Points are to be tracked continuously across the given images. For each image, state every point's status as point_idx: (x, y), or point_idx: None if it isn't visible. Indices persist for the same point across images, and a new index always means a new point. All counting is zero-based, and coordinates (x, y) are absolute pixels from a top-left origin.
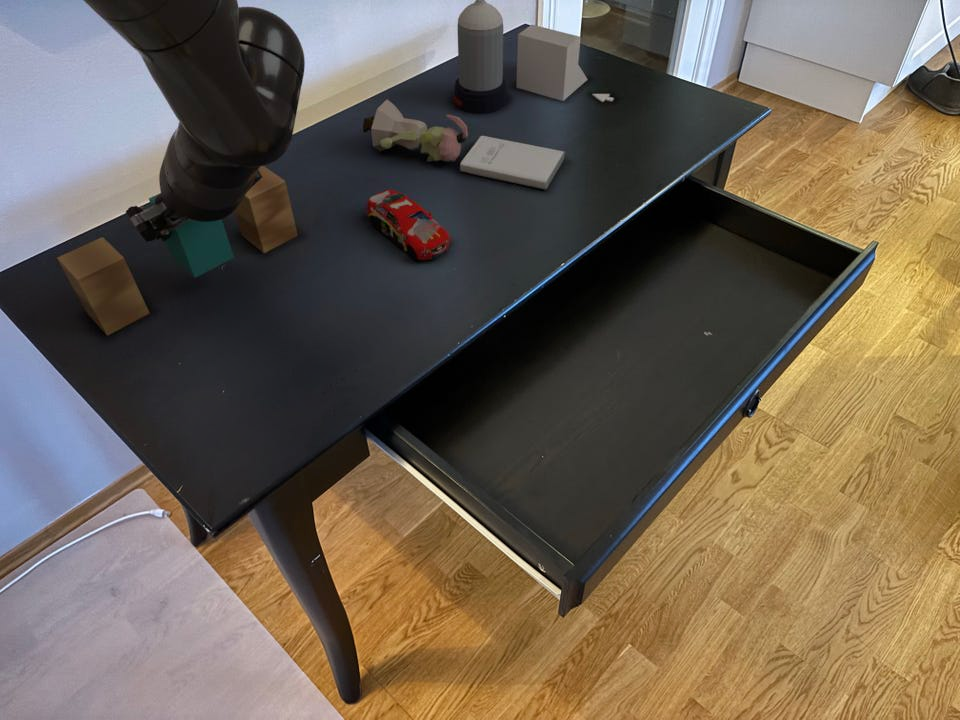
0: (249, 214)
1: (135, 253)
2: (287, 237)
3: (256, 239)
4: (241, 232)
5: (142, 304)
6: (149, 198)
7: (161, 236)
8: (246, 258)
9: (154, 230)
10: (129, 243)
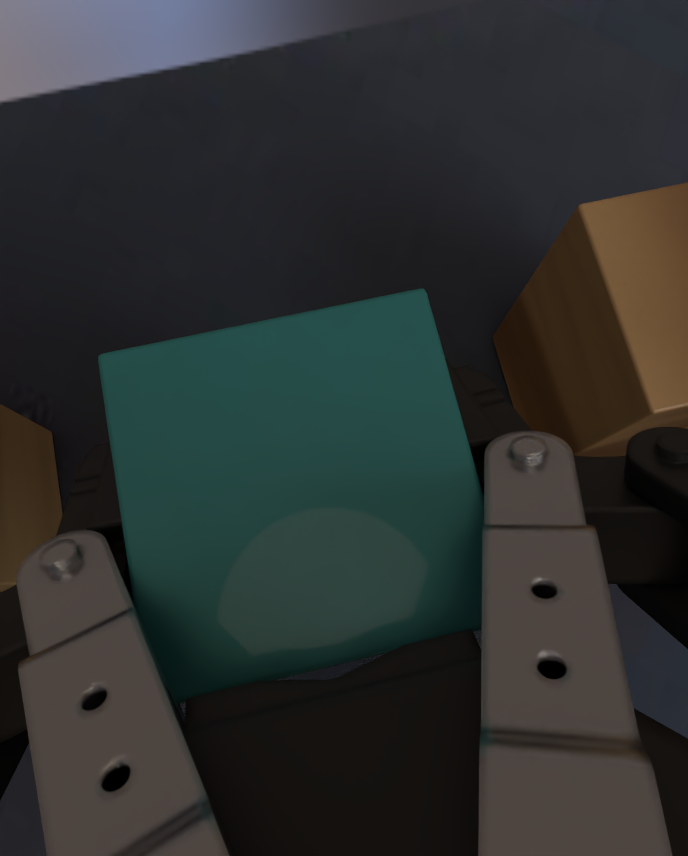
0: (586, 403)
1: (142, 240)
2: None
3: None
4: (497, 335)
5: None
6: (101, 361)
7: None
8: None
9: (6, 737)
10: (142, 180)
